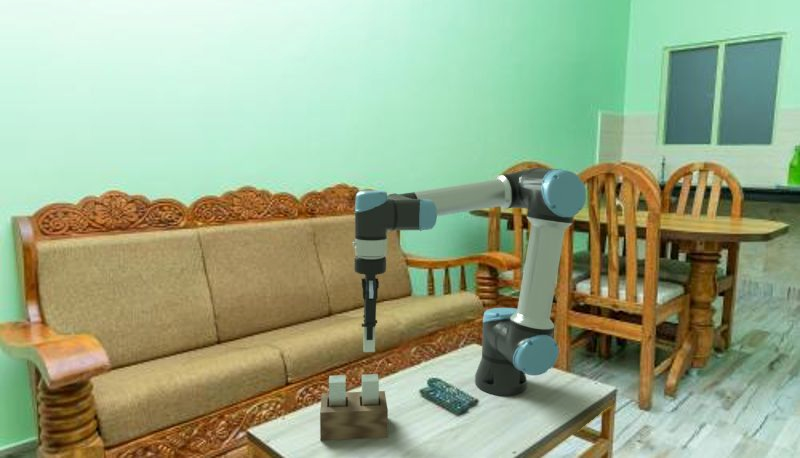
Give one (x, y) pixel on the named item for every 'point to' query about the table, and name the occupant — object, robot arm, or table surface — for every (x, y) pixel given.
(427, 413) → the table surface
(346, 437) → the wooden peg hole block
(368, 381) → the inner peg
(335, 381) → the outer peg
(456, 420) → the table surface
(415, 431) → the table surface
